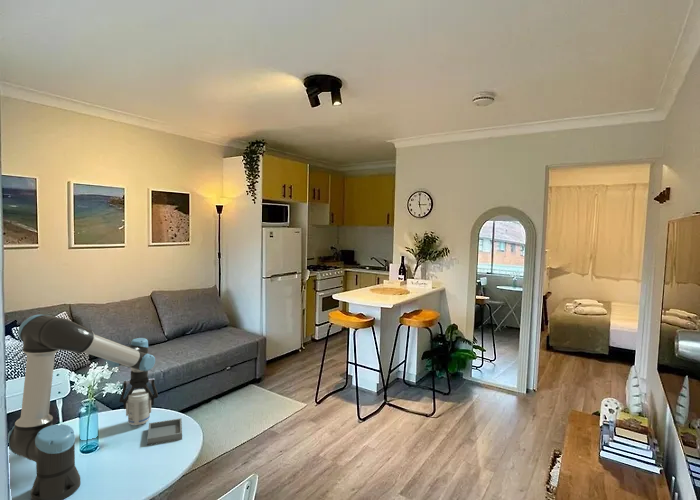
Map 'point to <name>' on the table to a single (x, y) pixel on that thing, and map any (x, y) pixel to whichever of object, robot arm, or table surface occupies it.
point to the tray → (164, 431)
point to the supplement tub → (138, 407)
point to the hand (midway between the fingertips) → (138, 413)
